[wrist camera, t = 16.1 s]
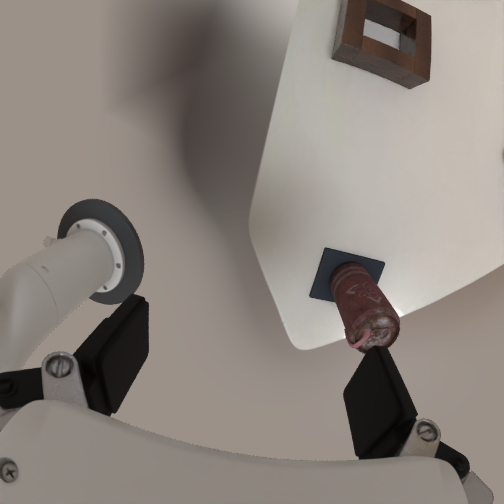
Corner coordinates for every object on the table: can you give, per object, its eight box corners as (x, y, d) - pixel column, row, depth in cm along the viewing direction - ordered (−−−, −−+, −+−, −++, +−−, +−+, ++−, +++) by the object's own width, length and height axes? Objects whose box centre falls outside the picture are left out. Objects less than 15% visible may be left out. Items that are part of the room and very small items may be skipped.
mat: (309, 295, 41) (309, 297, 40) (324, 247, 38) (325, 248, 37) (366, 306, 41) (367, 308, 40) (384, 261, 38) (385, 263, 37)
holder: (331, 59, 29) (341, 43, 23) (341, -1, 24) (350, -20, 19) (409, 89, 29) (429, 81, 23) (414, 28, 24) (431, 15, 19)
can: (319, 279, 39) (338, 336, 26) (354, 253, 37) (390, 301, 24) (340, 306, 40) (363, 366, 27) (373, 282, 39) (410, 335, 25)
